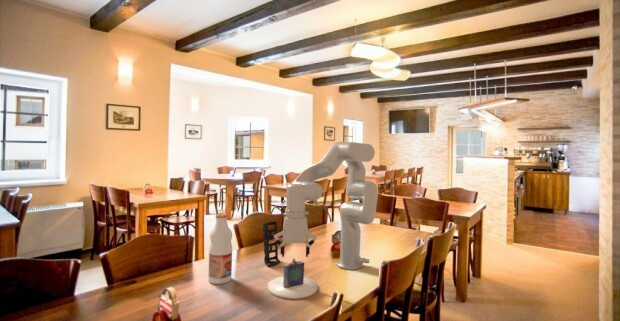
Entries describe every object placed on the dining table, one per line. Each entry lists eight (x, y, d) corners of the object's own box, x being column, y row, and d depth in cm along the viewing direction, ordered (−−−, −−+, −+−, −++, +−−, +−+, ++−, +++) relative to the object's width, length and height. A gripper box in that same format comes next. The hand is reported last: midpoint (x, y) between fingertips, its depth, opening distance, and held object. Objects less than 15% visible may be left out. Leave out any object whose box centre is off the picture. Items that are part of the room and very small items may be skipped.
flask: (284, 288, 129) (285, 261, 129) (281, 285, 132) (282, 259, 131) (304, 284, 134) (305, 258, 134) (301, 281, 137) (301, 256, 136)
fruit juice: (209, 276, 142) (210, 212, 141) (231, 275, 144) (233, 212, 143) (207, 285, 133) (209, 216, 132) (231, 283, 135) (233, 216, 134)
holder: (275, 267, 154) (273, 225, 154) (260, 267, 156) (258, 225, 156) (282, 260, 165) (280, 220, 165) (268, 260, 167) (265, 221, 167)
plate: (316, 279, 143) (316, 276, 143) (318, 300, 123) (318, 296, 123) (270, 277, 143) (270, 275, 143) (265, 298, 123) (265, 295, 123)
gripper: (316, 212, 136) (316, 253, 137) (274, 212, 136) (274, 252, 137) (317, 216, 128) (316, 259, 129) (273, 216, 128) (272, 259, 129)
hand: (295, 255), depth 133 cm, fingers open, 9 cm apart
